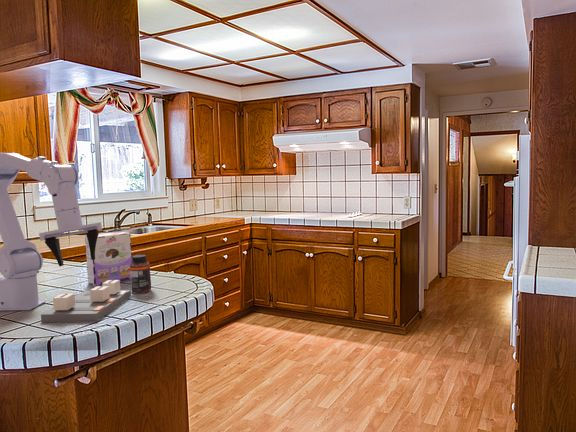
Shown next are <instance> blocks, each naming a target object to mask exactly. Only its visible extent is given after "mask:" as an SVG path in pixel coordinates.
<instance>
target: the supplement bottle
mask: <svg viewBox="0 0 576 432" xmlns="http://www.w3.org/2000/svg"><path fill="white" fill-rule="evenodd" d="M130 277H131V279H130V286H131V287H130V290H131V293H133V294H146V293H148V292H151V290H152V279H151V278H152V277H151V266H150V262H148V260H147V255H146V254H136V255H132V263H131V264H130Z"/></svg>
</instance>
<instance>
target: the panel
mask: <svg viewBox="0 0 576 432" xmlns="http://www.w3.org/2000/svg"><path fill="white" fill-rule="evenodd" d="M120 290H121V291H119V292H118V293H116V294H110V298H108V299H107V300H105V301H104V302H91V298H90V290H83V291H82V292H80V293H78V294H76V295H75V306H74V307H72V308H70V309H69V310H54V307H52V308H50V309H47V311H45V312H43V313H41V314H40V319H41V323H74V322H75V323H77V322H79V323H81V322H83V323H84V322H90V323H91V322H94V323H95V322H98V321H100V320H101V319H102V318H104V317H105V316H106V315H108V314H109V313H110V312H112V311H113V310H114V309H116V308H117V307H119V306H120V305H122V304H123V303H124V302H126V301H127V300H128V299H130V298H131V297H132V289H120Z"/></svg>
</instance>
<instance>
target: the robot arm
mask: <svg viewBox="0 0 576 432" xmlns="http://www.w3.org/2000/svg"><path fill="white" fill-rule="evenodd" d="M20 171H23V172H26V173H27V175H28V176H29V177H30V178H31V179H33V180H37V181H39V182H42V183H43V184H44V185H45V186H46V187H47V191H48V193H49V195H51V198H52V204H53V209H54V214H55V218H56V219H55V220H56V225H57V229H55V230H54V229H53V230H49V231H44V232H39V233H38V236H39V241H44V243H45V245H46V246H47V248H48V249H49V250H50V251H51V252H52V254H53V256H54V257H55V259H56V261H57V265H58V266H59V267H63V266H64V260H63V256H62V253H61V245H60V244H61V243H60V238H62V237H68V236H74V235H80V234H85V235H86V236H87V239H88V243H89V247H90V255H91V260H94V259H95V248H96V242H97V238H98V235H100V234H99V232H100V231H102V230H103V227H102V226H103V225H102V222H94V223H93V222H92V223H88V224H83V222H82V221H83V220H82V216H81V212H80V211H81V210H80V206H79V201H78V196H77V190H76V184H77V183H78V181H79V174H78V171H77V168H76V167H75V166H73V165H72V164H70V163H68V164H59V162H58V161H56V160H47V157H46V156H40V155H39V156H37V157H34V158H32V159H31V158H29V157H27V156H23V155H21V154H20V153H16V152H0V238H1V241H2V244H3V245H2V246H1V248H0V274H1V275H2V276H1V277H0V311H2V312H3V311H31V310H33V309H34V308H36V307H38V306H40V305H43V304H45V303H46V300H39V299H40V298H39V289H38V287H39V285H38V275H37V274H40V270H41V269H42V267H43V264H44V259H43V255H42V254H41V253H40V251H39V250H38V249H37V246H36V244H35V243H34V242H31V241H30V240H28V239H25V236H24V233H23V231H22V227H21V225H20V222H19V219H18V217H17V213H16V211H15V208H14V206H13V202H12V199H11V197H10V193H9V191H8V186H10V185H12V184H13V183H14V181H15V179H16V178H17V176H18V174H19V173H20ZM74 231H76V232H74Z"/></svg>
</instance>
